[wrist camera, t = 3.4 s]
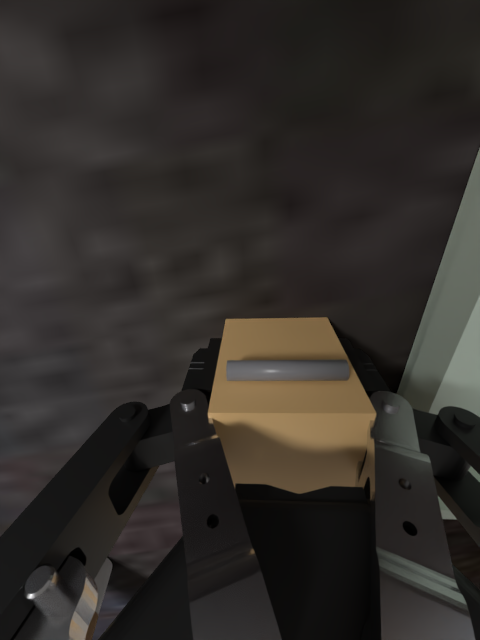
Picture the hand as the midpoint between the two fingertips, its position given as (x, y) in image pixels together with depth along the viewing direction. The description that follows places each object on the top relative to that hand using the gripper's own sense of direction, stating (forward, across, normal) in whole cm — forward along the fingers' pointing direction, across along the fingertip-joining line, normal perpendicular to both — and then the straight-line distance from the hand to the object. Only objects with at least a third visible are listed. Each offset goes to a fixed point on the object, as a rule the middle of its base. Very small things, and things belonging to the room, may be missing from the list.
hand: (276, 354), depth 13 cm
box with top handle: (+1, 0, +4) cm, 5 cm away
